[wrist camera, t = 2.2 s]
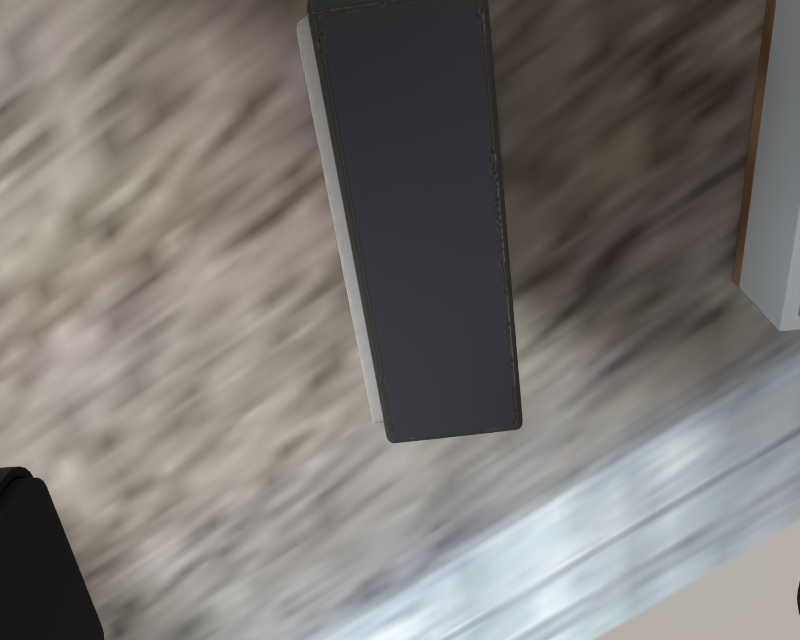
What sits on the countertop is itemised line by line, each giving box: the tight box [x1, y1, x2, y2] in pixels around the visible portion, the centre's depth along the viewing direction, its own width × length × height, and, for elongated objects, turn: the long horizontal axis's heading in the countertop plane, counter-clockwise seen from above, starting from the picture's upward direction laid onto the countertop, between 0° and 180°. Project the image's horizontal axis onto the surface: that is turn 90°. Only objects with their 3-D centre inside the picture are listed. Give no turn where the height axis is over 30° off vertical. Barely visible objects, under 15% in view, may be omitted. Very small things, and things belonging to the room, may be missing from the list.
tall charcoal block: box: [297, 0, 522, 443], centre depth 23 cm, size 11×4×15 cm, turn 8°
